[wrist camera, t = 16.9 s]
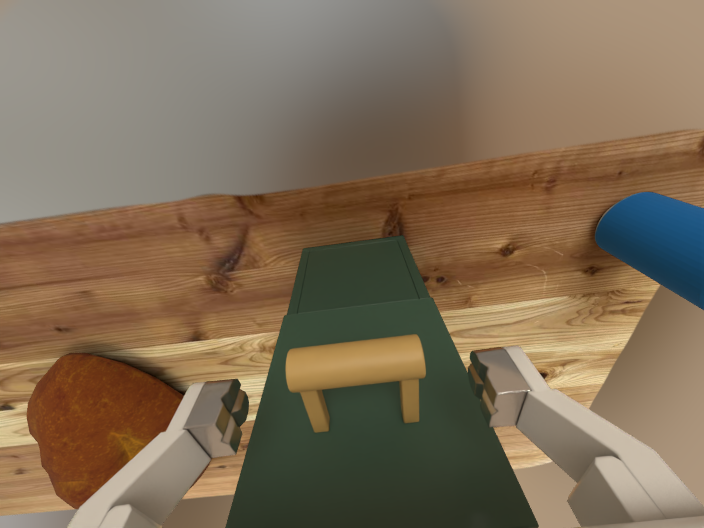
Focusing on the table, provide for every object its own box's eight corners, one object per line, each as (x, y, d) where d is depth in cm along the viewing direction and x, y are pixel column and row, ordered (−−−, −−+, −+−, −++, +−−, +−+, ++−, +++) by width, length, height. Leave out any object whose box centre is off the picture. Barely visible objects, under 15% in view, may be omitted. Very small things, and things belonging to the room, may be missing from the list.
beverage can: (631, 250, 31) (775, 328, 20) (577, 245, 30) (697, 323, 20) (672, 192, 27) (870, 252, 17) (612, 186, 27) (780, 244, 17)
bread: (175, 335, 35) (104, 439, 25) (243, 458, 52) (219, 550, 42) (9, 346, 35) (-133, 455, 25) (132, 466, 52) (79, 560, 42)
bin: (406, 317, 35) (428, 393, 26) (323, 327, 35) (317, 405, 27) (403, 235, 29) (430, 297, 20) (302, 248, 29) (286, 315, 20)
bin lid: (535, 535, 9) (579, 450, 7) (225, 563, 10) (149, 493, 7) (432, 305, 20) (433, 237, 17) (286, 323, 20) (265, 259, 18)
